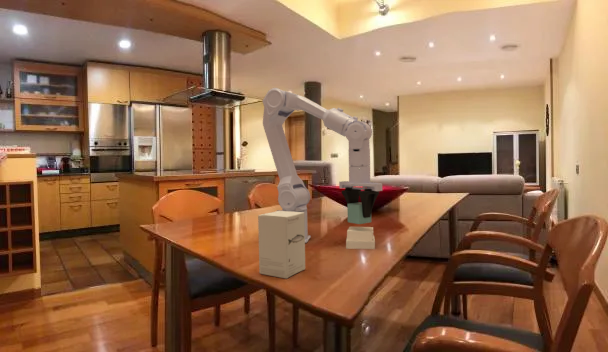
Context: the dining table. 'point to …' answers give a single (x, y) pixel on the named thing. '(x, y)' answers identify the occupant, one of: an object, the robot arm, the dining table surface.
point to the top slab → (360, 233)
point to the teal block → (356, 214)
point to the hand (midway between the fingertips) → (360, 216)
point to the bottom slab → (360, 244)
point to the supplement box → (281, 243)
